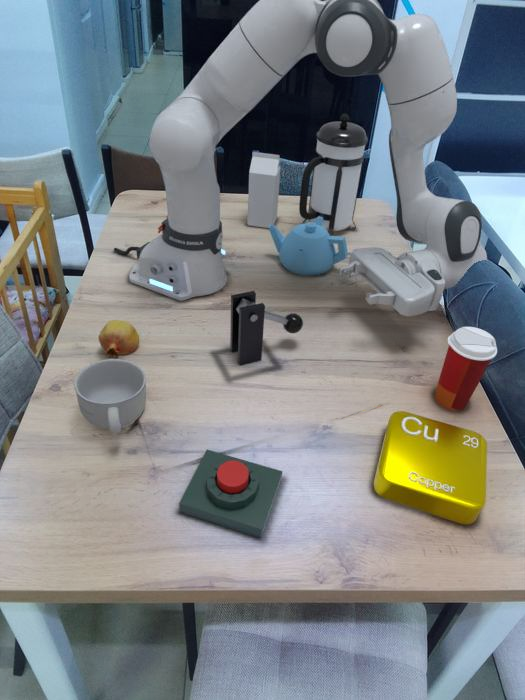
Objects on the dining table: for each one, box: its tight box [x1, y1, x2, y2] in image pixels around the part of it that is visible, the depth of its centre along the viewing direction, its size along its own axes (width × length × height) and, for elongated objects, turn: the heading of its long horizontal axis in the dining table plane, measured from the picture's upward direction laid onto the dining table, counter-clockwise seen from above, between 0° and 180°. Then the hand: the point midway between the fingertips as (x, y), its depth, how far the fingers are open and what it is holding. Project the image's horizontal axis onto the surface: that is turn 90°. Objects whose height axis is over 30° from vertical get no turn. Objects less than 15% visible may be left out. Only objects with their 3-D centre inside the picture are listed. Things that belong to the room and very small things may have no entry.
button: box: [217, 461, 249, 494], centre depth 70 cm, size 4×4×2 cm
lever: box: [236, 298, 304, 334], centre depth 92 cm, size 14×4×4 cm, turn 113°
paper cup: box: [434, 326, 498, 412], centre depth 86 cm, size 8×8×14 cm
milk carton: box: [247, 151, 282, 229], centre depth 136 cm, size 7×7×19 cm
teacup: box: [73, 358, 147, 435], centre depth 80 cm, size 14×11×8 cm
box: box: [178, 449, 283, 539], centre depth 72 cm, size 12×10×4 cm
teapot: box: [268, 216, 349, 277], centre depth 122 cm, size 15×15×11 cm
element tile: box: [373, 410, 488, 525], centre depth 77 cm, size 15×15×5 cm
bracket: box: [229, 290, 266, 366], centre depth 92 cm, size 10×8×14 cm
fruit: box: [98, 319, 140, 359], centre depth 94 cm, size 7×7×10 cm
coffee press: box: [298, 113, 369, 236], centre depth 131 cm, size 17×16×30 cm
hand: (354, 285), depth 96 cm, fingers open, 8 cm apart
